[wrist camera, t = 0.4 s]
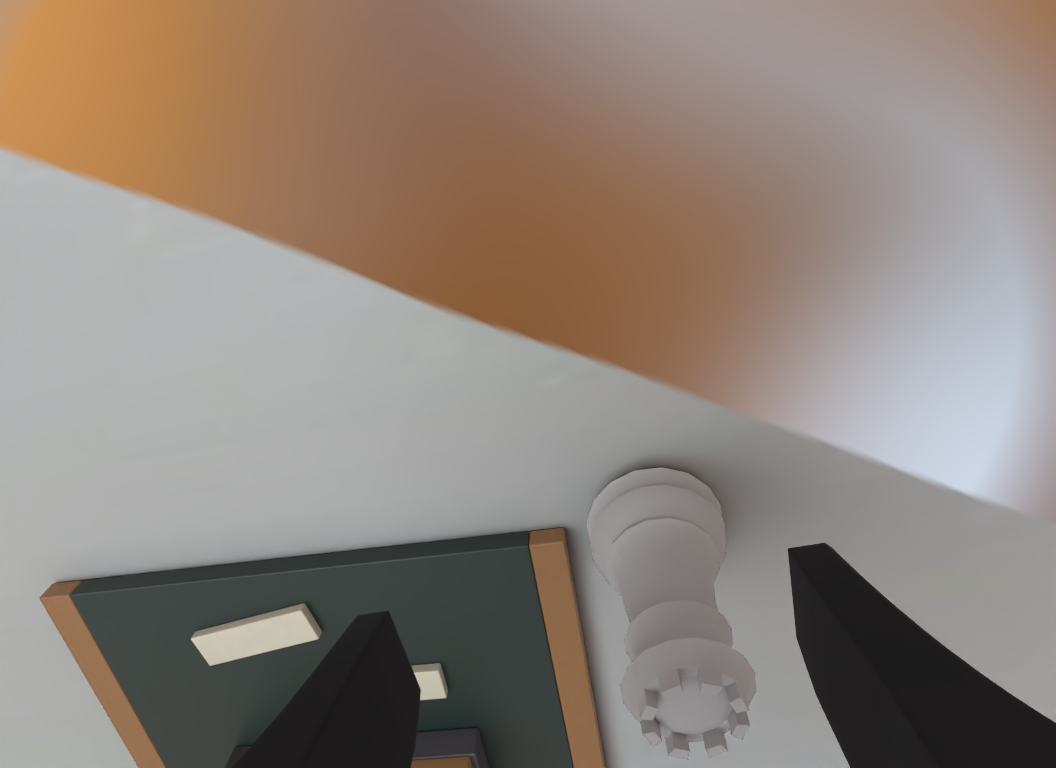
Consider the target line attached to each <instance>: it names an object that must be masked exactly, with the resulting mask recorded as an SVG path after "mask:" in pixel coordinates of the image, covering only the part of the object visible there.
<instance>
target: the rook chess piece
mask: <svg viewBox="0 0 1056 768" xmlns="http://www.w3.org/2000/svg"><path fill="white" fill-rule="evenodd" d="M586 523H587V530H588V536H589V542H590V545H591V551H592V557H593V561H594V563H595V565H596V567H597V568H598V570H599V571H600V572H601V574H602V575H603V576H604V578H605V579H606V581H607V582H608V583H609V584H610V585H611V586H613V587H614V589H615V590H616V591H617V593H618V594H619V595H620V596H622V599H623V602H624V605H625V609H626V612H627V615H628V618H629V621H630V625H629V628H628V631H627V633H626V636H625V638H624V640H625V646H626V653H627V655H628V657H629V658H630V659H631V661H632V662H631V663H630V664H629V665H628V667H627V669H626V672H625V674H624V677H623V679H622V682H621V684H620V686H621V692H622V698H623V704H624V705H625V706H626V707H627V709H628V710H629V711H630V713H631V714H632V715H633V716H634V718H635V719H636V720H637V721H639V722H640V723H641V727H642V735H643V736H644V737H645V738H646V740H647V741H648V742H649V743H650V745H651V746H652V747H653V746H655V745H657V744H658V743H660V742H662V739H661V736H662V737H663V738H665V739H666V744H667V750H668V756H672V757H677V758H683V759H688V758H689V753H690V750H689V745H688V742H698V741H704V743H705V748H706V751H707V754H708V756H709V758H710V757H713V756H716V755H719V754H721V753H724V752H727V751H728V748H727V744H726V740H725V736H724V734H725V733H726V732H727V731H728V730H730V731H731V735H732V736H734V737H736V738H739V739H742V740H743V738H744V736H745V734H746V732H747V730H748V728H749V727H750V723H749V720H748V717H747V713H746V711H749V708H748V706H749V704H750V702H751V700H752V698H753V696H754V694H755V692H756V684H755V672H754V670H753V669H752V667H751V666H750V664H749V663H748V661H747V660H746V658H745V657H744V655H742V654H741V653H739V652H737V651H736V650H734V649H732V648H731V646H732V629H731V627H730V625H729V624H728V622H727V621H726V619H725V618H724V616H723V615H722V614H721V613H719V612H718V609H717V606H716V601H715V591H714V580H715V578H716V576H717V574H718V571H719V569H720V565H721V563H722V560H723V558H724V556H725V554H726V531H725V523H724V521H723V519H722V509H721V505H720V504H719V502H718V500H717V499H716V497H715V496H714V494H713V492H712V491H711V489H710V487H709V486H707V485H706V484H704V483H703V482H701V481H700V480H698V479H696V478H695V477H693V476H692V475H690V474H689V473H686V472H681V471H677V470H672V469H667V468H663V467H660V468H652V469H644V470H635V471H632V472H630V473H628V474H626V475H624V476H622V477H620V478H618V479H616V480H614V481H612V482H610V483H609V484H608V485H607V486H606V487H605V489H604V490H603V491H602V492H601V493H600V494H599V495H598V496H597V497H596V498H595V499H594V501H593V503H592V506H591V509H590V512H589V515H588V519H587V522H586Z"/></svg>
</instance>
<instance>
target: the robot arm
mask: <svg viewBox="0 0 1056 768" xmlns="http://www.w3.org/2000/svg"><path fill="white" fill-rule="evenodd" d="M788 555H789V565H790V575H791V585H792V596H793V606H794V616H795V626H796V636H797V640H798V643H799V646H800V649H801V652H802V655H803V658H804V661H805V664H806V667H807V670H808V673H809V676H810V678H811V681H812V684H813V687H814V690H815V693H816V695H817V698H818V700H819V702H820V704H821V706H822V708H823V711H824V713H825V715H826V717H827V719H828V721H829V723H830V725H831V728H832V730H833V732H834V734H835V736H836V738H837V740H838V742H839V745H840V747H841V749H842V751H843V753H844V755H845V757H846V759H847V761H848V763H849V766H850V768H1056V723H1055V722H1053V721H1052V720H1050V719H1048V718H1047V717H1045V716H1044V715H1042V714H1040V713H1039V712H1037V711H1036V710H1034V709H1033V708H1031V707H1030V706H1028V705H1027V704H1025V703H1024V702H1022V701H1020V700H1019V699H1017V698H1016V697H1014V696H1013V695H1011V694H1010V693H1008V692H1007V691H1005V690H1004V689H1002V688H1001V687H1000V686H998V685H997V684H995V683H994V682H992V681H991V680H990V679H988V678H987V677H985V676H984V675H983V674H981V673H980V672H978V671H977V670H976V669H974V668H973V667H971V666H970V665H969V664H967V663H966V662H965V661H963V660H962V659H961V658H959V657H958V656H957V655H955V654H954V653H953V652H951V651H950V650H949V649H947V648H946V647H945V646H944V645H942V644H941V643H940V642H938V641H937V640H936V639H935V638H933V637H932V636H931V635H930V634H928V633H927V632H926V631H925V630H923V629H922V628H921V627H920V626H919V625H917V624H916V623H915V622H914V621H913V620H911V619H910V618H909V617H908V616H907V615H905V614H904V613H903V612H902V611H900V610H899V609H898V608H897V607H896V606H895V605H893V604H892V603H891V602H890V601H889V600H888V599H886V598H885V597H884V596H883V595H882V594H881V593H880V592H879V591H877V590H876V589H875V588H874V587H873V586H872V585H871V584H870V583H869V582H867V581H866V580H865V579H864V578H863V577H862V576H861V575H860V574H859V573H858V572H857V571H856V570H854V569H853V568H852V567H851V566H850V565H849V564H848V563H847V562H846V561H845V560H844V559H843V558H842V557H841V556H840V555H839V554H838V553H837V552H836V551H835V550H834V549H833V548H832V547H830V546H829V545H827V544H826V543H820V544H814V545H808V546H801V547H795V548H788ZM420 694H421V689H420V686H419V684H418V681H417V679H416V677H415V674H414V672H413V669H412V667H411V664H410V662H409V659H408V657H407V654H406V652H405V649H404V647H403V644H402V642H401V640H400V637H399V635H398V632H397V630H396V627H395V625H394V622H393V620H392V617H391V615H390V612H389V610H388V611H382V612H375V613H369V614H362V615H358V616H357V617H356V618H355V619H354V620H353V622H352V623H351V624H350V625H349V626H348V628H347V629H346V630H345V631H344V633H343V634H342V635H341V637H340V638H339V639H338V640H337V642H336V643H335V644H334V646H333V647H332V648H331V649H330V651H329V652H328V653H327V655H326V656H325V657H324V658H323V660H322V661H321V662H320V664H319V665H318V666H317V667H316V669H315V670H314V671H313V673H312V674H311V675H310V676H309V678H308V679H307V680H306V681H305V683H304V684H303V685H302V686H301V688H300V689H299V690H298V691H297V693H296V694H295V695H294V696H293V698H292V699H291V700H290V701H289V703H288V704H287V705H286V706H285V707H284V709H283V710H282V711H281V712H280V713H279V715H278V716H277V717H276V718H275V719H274V720H273V721H272V723H271V724H270V725H269V726H268V727H267V728H266V730H265V731H264V732H263V733H262V734H261V735H260V736H259V738H258V739H257V740H256V741H255V742H254V743H253V745H252V746H251V747H250V748H249V749H248V750H247V751H246V753H245V754H244V755H243V756H242V757H241V758H240V759H239V760H238V762H237V763H236V764H235V765H234V766H233V767H232V768H411V764H412V759H413V754H414V750H415V744H416V735H417V726H418V717H419V706H420Z"/></svg>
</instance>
